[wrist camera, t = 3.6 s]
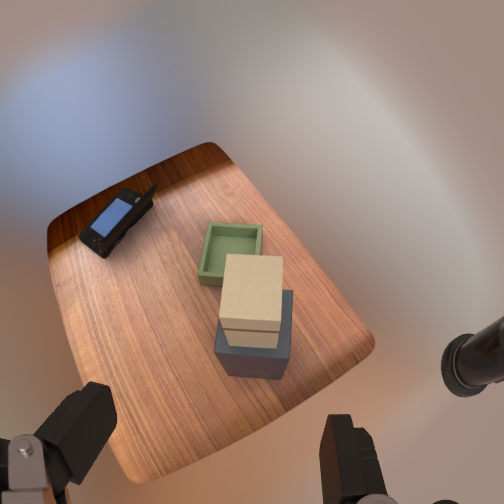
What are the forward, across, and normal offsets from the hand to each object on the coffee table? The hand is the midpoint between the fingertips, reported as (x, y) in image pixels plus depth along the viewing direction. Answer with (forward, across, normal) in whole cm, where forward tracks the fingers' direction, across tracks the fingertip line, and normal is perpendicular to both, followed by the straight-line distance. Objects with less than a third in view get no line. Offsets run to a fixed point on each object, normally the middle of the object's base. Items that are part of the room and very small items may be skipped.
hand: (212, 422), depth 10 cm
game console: (+50, +29, +2) cm, 57 cm away
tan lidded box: (+23, 0, +7) cm, 24 cm away
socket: (+45, +6, +6) cm, 46 cm away
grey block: (+34, 0, +18) cm, 38 cm away
